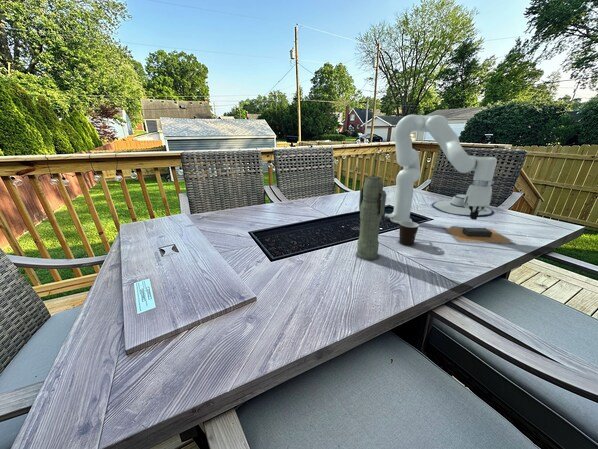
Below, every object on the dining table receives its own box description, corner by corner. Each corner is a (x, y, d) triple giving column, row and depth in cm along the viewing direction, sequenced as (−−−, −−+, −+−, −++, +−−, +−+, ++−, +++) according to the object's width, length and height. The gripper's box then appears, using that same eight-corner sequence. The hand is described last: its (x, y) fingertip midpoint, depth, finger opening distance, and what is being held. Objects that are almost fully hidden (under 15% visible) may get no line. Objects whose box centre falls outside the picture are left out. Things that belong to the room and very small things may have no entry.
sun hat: (431, 200, 196) (433, 188, 193) (485, 204, 182) (488, 192, 179) (433, 212, 165) (435, 199, 162) (499, 219, 151) (503, 205, 148)
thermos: (373, 263, 104) (382, 180, 92) (350, 254, 112) (355, 177, 100) (384, 256, 110) (393, 177, 97) (361, 248, 118) (367, 174, 105)
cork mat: (459, 241, 122) (459, 240, 122) (444, 228, 139) (444, 227, 139) (512, 243, 119) (512, 242, 119) (490, 229, 136) (490, 229, 136)
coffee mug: (407, 248, 117) (410, 228, 113) (393, 241, 124) (395, 222, 120) (423, 243, 122) (427, 224, 118) (409, 237, 129) (412, 218, 125)
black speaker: (468, 231, 126) (492, 231, 124) (463, 226, 131) (485, 227, 130) (467, 236, 127) (490, 237, 125) (462, 232, 132) (484, 232, 131)
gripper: (493, 181, 122) (484, 216, 129) (461, 181, 124) (454, 216, 131) (503, 184, 115) (493, 221, 122) (468, 184, 117) (460, 220, 124)
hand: (473, 218), depth 126 cm, fingers closed
